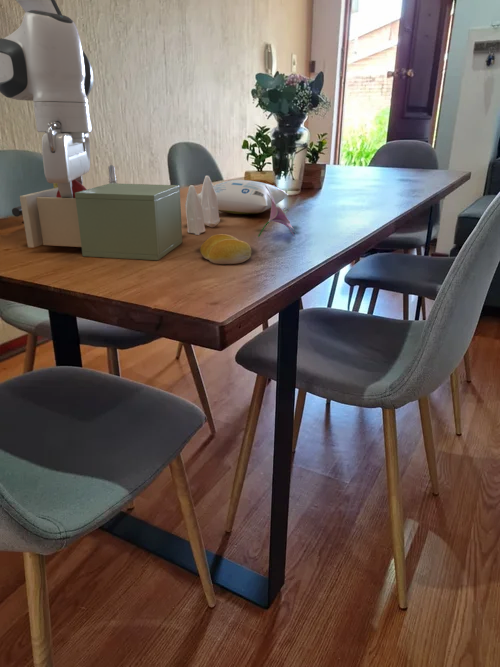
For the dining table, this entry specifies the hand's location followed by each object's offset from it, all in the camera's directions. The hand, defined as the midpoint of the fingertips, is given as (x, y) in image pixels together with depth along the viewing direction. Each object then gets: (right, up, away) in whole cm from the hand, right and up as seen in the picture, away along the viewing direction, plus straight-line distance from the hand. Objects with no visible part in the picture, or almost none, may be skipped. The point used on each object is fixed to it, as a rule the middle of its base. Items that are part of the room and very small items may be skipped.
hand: (73, 203), depth 92 cm
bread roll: (+28, -11, -4) cm, 30 cm away
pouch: (+30, +8, +39) cm, 50 cm away
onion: (0, -3, +1) cm, 3 cm away
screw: (+2, +1, +22) cm, 22 cm away
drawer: (-2, -6, +3) cm, 7 cm away
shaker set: (+22, -1, +19) cm, 29 cm away
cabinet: (+11, -8, +1) cm, 14 cm away
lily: (+38, -4, +12) cm, 40 cm away
